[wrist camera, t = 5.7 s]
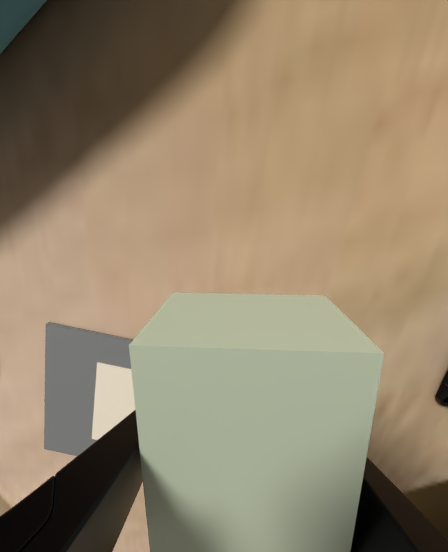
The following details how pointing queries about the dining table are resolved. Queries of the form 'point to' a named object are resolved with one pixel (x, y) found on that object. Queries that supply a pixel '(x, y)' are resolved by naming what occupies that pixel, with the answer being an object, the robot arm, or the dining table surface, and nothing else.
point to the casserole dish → (15, 18)
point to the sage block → (253, 422)
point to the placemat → (84, 386)
